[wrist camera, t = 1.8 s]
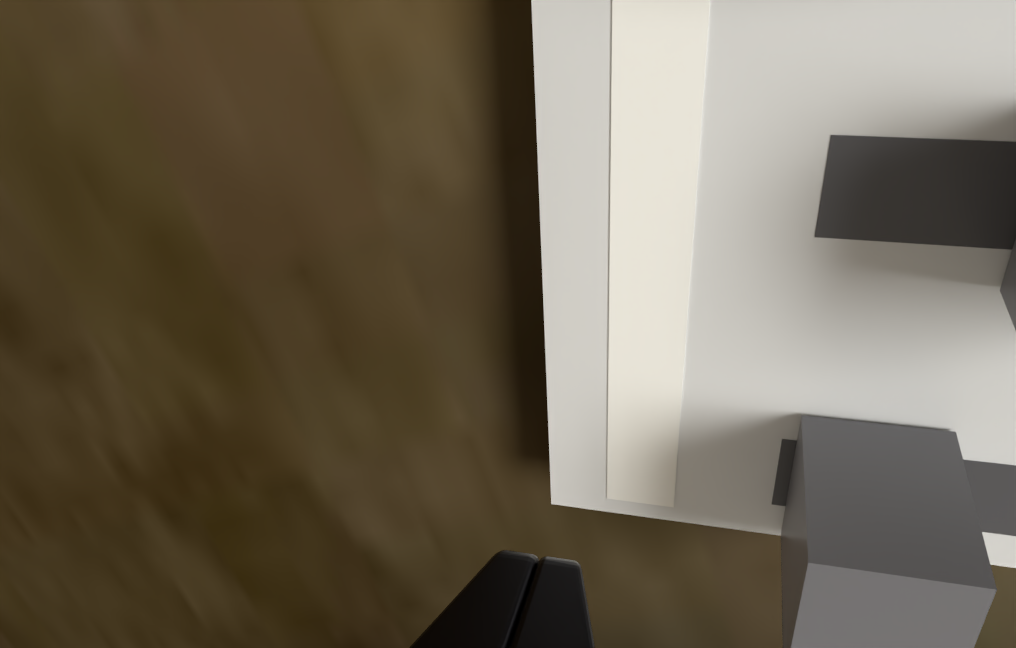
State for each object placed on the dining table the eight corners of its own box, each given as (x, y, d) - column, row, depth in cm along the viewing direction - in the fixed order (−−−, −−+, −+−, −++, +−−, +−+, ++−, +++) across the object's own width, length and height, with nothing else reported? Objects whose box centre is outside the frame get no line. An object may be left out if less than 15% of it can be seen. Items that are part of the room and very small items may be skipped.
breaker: (956, 431, 18) (996, 589, 15) (918, 551, 20) (947, 713, 17) (801, 415, 18) (808, 562, 15) (781, 532, 20) (783, 684, 17)
